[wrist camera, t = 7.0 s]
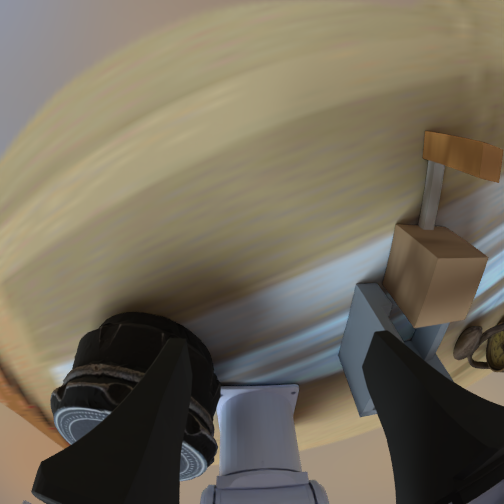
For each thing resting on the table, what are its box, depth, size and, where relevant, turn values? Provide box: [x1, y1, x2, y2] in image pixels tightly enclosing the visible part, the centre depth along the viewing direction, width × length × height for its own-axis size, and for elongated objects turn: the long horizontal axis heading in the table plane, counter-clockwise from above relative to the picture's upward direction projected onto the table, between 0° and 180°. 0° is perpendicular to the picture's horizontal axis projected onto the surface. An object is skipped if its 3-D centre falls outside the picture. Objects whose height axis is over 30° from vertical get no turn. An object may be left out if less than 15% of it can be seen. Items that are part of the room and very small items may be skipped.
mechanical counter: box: [453, 321, 504, 372], centre depth 22 cm, size 7×13×10 cm
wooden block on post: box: [382, 131, 503, 328], centre depth 16 cm, size 12×5×6 cm, turn 179°
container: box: [51, 312, 221, 481], centre depth 19 cm, size 13×13×10 cm
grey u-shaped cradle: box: [338, 283, 454, 417], centre depth 20 cm, size 8×10×7 cm
